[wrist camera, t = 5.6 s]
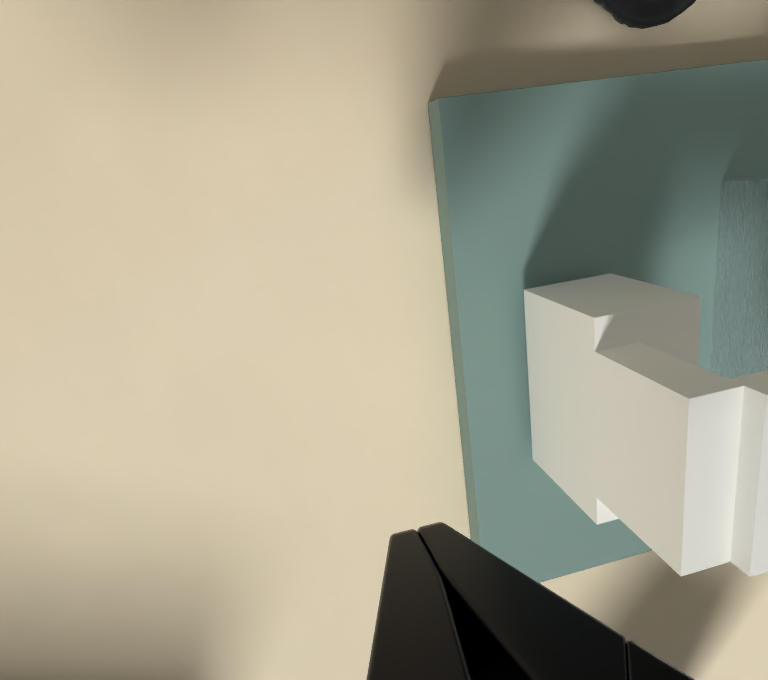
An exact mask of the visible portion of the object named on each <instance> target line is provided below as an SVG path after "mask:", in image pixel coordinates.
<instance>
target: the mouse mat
mask: <svg viewBox="0 0 768 680" xmlns="http://www.w3.org/2000/svg"><path fill="white" fill-rule="evenodd" d="M594 1H595V2H596V3H598V4H600V5H602V6H603V7H604V8H605V9H606V10H607V11H609V12H610V13H612V15H613V16H614V18H615V20H617V21H618V22H619V23H620V24H626V25H627V26H628V27H635V28H641V29H643V28H648V27H652V26H657V25H661V24H664V23H667V22H669V21H671V20H672V19H673V18H675V17H676V16H678V15H679V14H681V13H682V12H683V11H685V10H686V9H687V8H688V7H690V6H691V5H692V4H693V3H694V2H695V1H696V0H594Z"/></svg>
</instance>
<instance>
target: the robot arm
mask: <svg viewBox="0 0 768 680" xmlns="http://www.w3.org/2000/svg"><path fill="white" fill-rule="evenodd" d="M367 680H695V679H693V678H691V677H690V676H688V675H686V674H685V673H683V672H681V671H680V670H678V669H676V668H675V667H673V666H671V665H670V664H668V663H666V662H665V661H663V660H661V659H660V658H658V657H656V656H655V655H653V654H652V653H650V652H648V651H647V650H645V649H644V648H642V647H640V646H639V645H637V644H636V643H634V642H632V641H627V643H626V639H625V637H624V636H622V635H621V634H619V633H618V632H616V631H615V630H613V629H611V628H610V627H608V626H607V625H605V624H603V623H602V622H600V621H599V620H597V619H595V618H594V617H592V616H591V615H589V614H588V613H586V612H584V611H583V610H581V609H580V608H578V607H576V606H575V605H573V604H572V603H570V602H568V601H567V600H565V599H564V598H562V597H561V596H559V595H557V594H556V593H554V592H553V591H551V590H549V589H548V588H546V587H545V586H543V585H541V584H540V583H538V582H537V581H535V580H533V579H532V578H530V577H529V576H527V575H526V574H524V573H522V572H521V571H519V570H518V569H516V568H514V567H513V566H511V565H510V564H508V563H506V562H505V561H503V560H502V559H500V558H499V557H497V556H495V555H494V554H492V553H491V552H489V551H487V550H486V549H484V548H483V547H481V546H479V545H478V544H476V543H475V542H473V541H472V540H470V539H468V538H467V537H465V536H464V535H462V534H460V533H459V532H457V531H456V530H454V529H452V528H451V527H449V526H448V525H446V524H444V523H441V522H438V523H434V524H430V525H426V526H423V527H420V528H419V529H418V531H416V530H413V529H411V530H407V531H403V532H399V533H395V534H393V535H391V537H390V540H389V547H388V553H387V559H386V565H385V571H384V577H383V583H382V589H381V595H380V601H379V607H378V614H377V620H376V626H375V632H374V638H373V644H372V650H371V656H370V662H369V668H368V674H367Z"/></svg>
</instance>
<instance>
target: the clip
mask: <svg viewBox="0 0 768 680" xmlns="http://www.w3.org/2000/svg"><path fill="white" fill-rule="evenodd" d="M524 307H525V325H526V344H527V362H528V381H529V399H530V418H531V437H532V455H533V460H534V461H535V462H536V463H537V464H538V465H539V466H540V467H541V468H542V469H543V471H544V472H545V473H546V474H547V475H548V476H549V477H550V478H551V479H552V480H553V481H554V482H555V483H556V484H557V485H558V486H559V487H560V488H561V489H562V490H563V491H564V492H565V493H566V494H567V495H568V496H569V497H570V498H571V499H572V500H573V501H574V502H575V503H576V504H577V505H578V506H579V507H580V508H581V509H582V510H583V511H584V512H585V513H586V514H587V515H588V516H589V517H590V518H591V519H592V520H593V521H594V522H595V523H596V524H597V525H598V524H601V523H605V522H609V521H612V520H616V519H620V520H621V521H622V522H623V523H624V524H625V525H626V526H627V527H628V528H629V529H631V530H632V531H633V532H634V533H635V534H636V535H637V536H638V537H639V538H640V539H641V540H642V541H643V542H644V543H645V544H647V545H648V546H649V547H650V548H651V549H652V550H653V551H654V552H655V553H656V554H657V555H658V556H659V557H660V558H662V559H663V560H664V561H665V562H666V563H667V564H668V565H669V566H670V567H671V568H672V569H673V570H674V571H675V572H676V573H678V574H679V575H680V576H685V575H688V574H691V573H695V572H698V571H701V570H705V569H708V568H711V567H715V566H718V565H721V564H725V563H728V562H731V563H732V564H734V565H735V566H736V567H737V568H739V569H740V570H741V571H742V572H744V573H745V574H746V575H747V576H749V577H752V576H756V575H759V574H762V573H765V572H768V370H766V371H762V372H758V373H753V374H749V375H745V376H741V377H736V378H732V379H727V378H724V377H722V376H720V375H717V374H715V373H712V372H710V371H708V370H705V369H703V368H700V367H698V355H699V335H700V316H701V296H698V295H694V294H690V293H686V292H682V291H678V290H674V289H670V288H667V287H663V286H659V285H655V284H651V283H647V282H643V281H639V280H635V279H631V278H627V277H623V276H619V275H615V274H611V273H610V274H604V275H599V276H594V277H588V278H583V279H578V280H572V281H567V282H562V283H556V284H551V285H546V286H540V287H535V288H530V289H524Z"/></svg>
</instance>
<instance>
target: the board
mask: <svg viewBox="0 0 768 680" xmlns="http://www.w3.org/2000/svg"><path fill="white" fill-rule="evenodd" d="M428 110H429V120H430V130H431V140H432V150H433V160H434V170H435V180H436V191H437V201H438V211H439V221H440V231H441V241H442V251H443V261H444V271H445V281H446V292H447V302H448V312H449V322H450V332H451V342H452V352H453V362H454V372H455V383H456V393H457V403H458V413H459V423H460V433H461V443H462V453H463V463H464V473H465V484H466V494H467V504H468V514H469V524H470V534H471V540H472V541H473V542H475V543H476V544H478V545H479V546H481V547H483V548H484V549H486V550H487V551H489V552H491V553H492V554H494V555H495V556H497V557H499V558H500V559H502V560H503V561H505V562H506V563H508V564H510V565H511V566H513V567H514V568H516V569H518V570H519V571H521V572H522V573H524V574H526V575H527V576H529V577H530V578H532V579H533V580H535V581H537V582H538V583H540V582H543V581H547V580H550V579H554V578H557V577H561V576H564V575H568V574H571V573H575V572H578V571H582V570H585V569H589V568H592V567H596V566H599V565H603V564H606V563H610V562H613V561H616V560H620V559H623V558H627V557H630V556H634V555H637V554H641V553H644V552H648V551H651V550H652V549H651V548H650V547H649V546H648V545H647V544H645V543H644V542H643V541H642V540H641V539H640V538H639V537H638V536H637V535H636V534H635V533H634V532H633V531H632V530H631V529H629V528H628V527H627V526H626V525H625V524H624V523H623V522H622V521H621V520H620V519H616V520H612V521H609V522H605V523H601V524H598V525H597V524H596V523H595V522H594V521H593V520H592V519H591V518H590V517H589V516H588V515H587V514H586V513H585V512H584V511H583V510H582V509H581V508H580V507H579V506H578V505H577V504H576V503H575V502H574V501H573V500H572V499H571V498H570V497H569V496H568V495H567V494H566V493H565V492H564V491H563V490H562V489H561V488H560V487H559V486H558V485H557V484H556V483H555V482H554V481H553V480H552V479H551V478H550V477H549V476H548V475H547V474H546V473H545V472H544V471H543V469H542V468H541V467H540V466H539V465H538V464H537V463H536V462H535V461H534V460H533V455H532V437H531V418H530V399H529V381H528V362H527V344H526V325H525V307H524V289H530V288H535V287H540V286H546V285H551V284H556V283H562V282H567V281H572V280H578V279H583V278H588V277H594V276H599V275H604V274H610V273H611V274H615V275H619V276H623V277H627V278H631V279H635V280H639V281H643V282H647V283H651V284H655V285H659V286H663V287H667V288H670V289H674V290H678V291H682V292H686V293H690V294H694V295H698V296H701V316H700V335H699V355H698V367H700V368H703V369H705V370H708V371H710V361H711V344H712V326H713V309H714V292H715V274H716V257H717V240H718V222H719V205H720V188H721V181H726V180H732V179H738V178H744V177H751V176H757V175H763V174H768V59H764V60H756V61H748V62H739V63H731V64H722V65H714V66H706V67H697V68H689V69H681V70H672V71H664V72H655V73H647V74H639V75H630V76H622V77H613V78H605V79H597V80H588V81H580V82H571V83H563V84H555V85H546V86H538V87H530V88H521V89H513V90H504V91H496V92H488V93H479V94H471V95H462V96H454V97H446V98H438V99H436V100H434V101H432V102H430V103H428Z"/></svg>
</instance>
